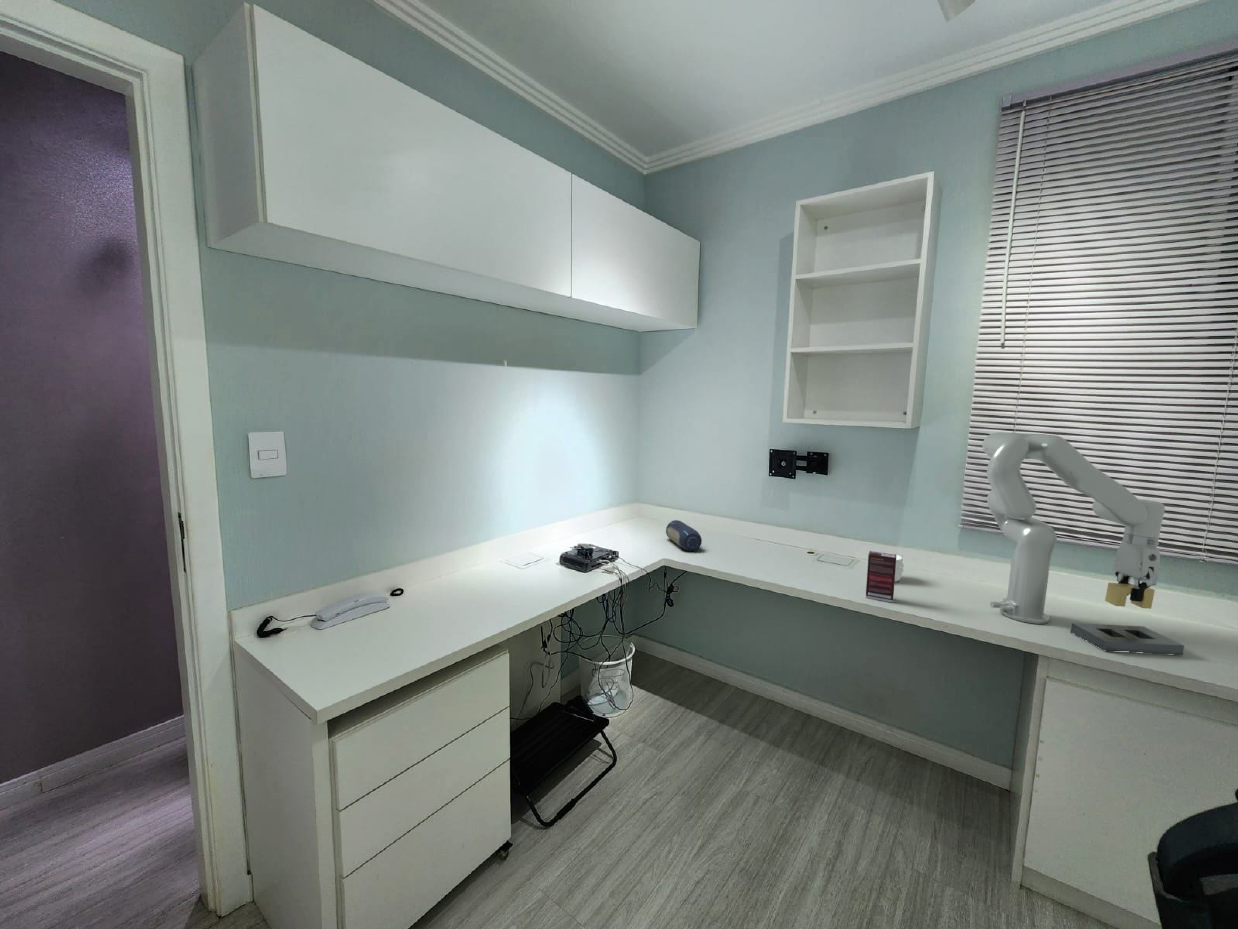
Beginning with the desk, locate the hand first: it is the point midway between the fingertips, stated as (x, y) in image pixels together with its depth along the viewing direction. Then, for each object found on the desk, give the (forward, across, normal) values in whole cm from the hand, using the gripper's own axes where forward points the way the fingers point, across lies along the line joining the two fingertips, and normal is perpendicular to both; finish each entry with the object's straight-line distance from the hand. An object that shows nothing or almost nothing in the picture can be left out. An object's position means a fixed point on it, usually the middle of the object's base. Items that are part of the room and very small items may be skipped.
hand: (1129, 597), depth 159 cm
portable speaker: (+15, +70, +133) cm, 151 cm away
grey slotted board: (+10, -13, +11) cm, 20 cm away
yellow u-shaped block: (+2, 0, 0) cm, 2 cm away
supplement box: (+12, +14, +68) cm, 70 cm away
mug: (+12, +34, +57) cm, 67 cm away
